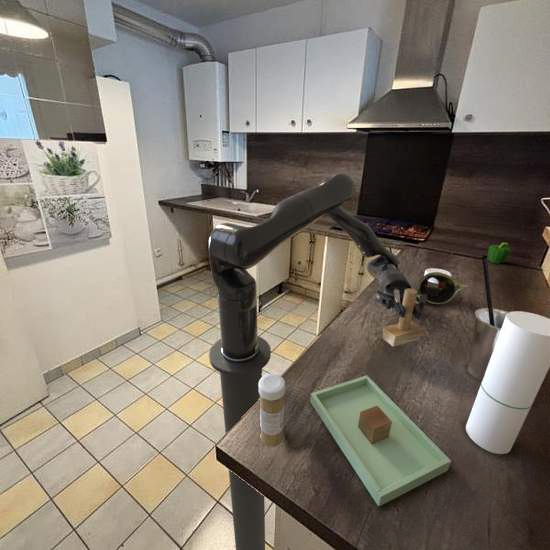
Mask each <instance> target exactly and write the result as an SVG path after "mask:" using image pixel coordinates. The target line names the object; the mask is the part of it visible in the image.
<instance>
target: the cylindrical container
mask: <svg viewBox="0 0 550 550" xmlns="http://www.w3.org/2000/svg"><path fill="white" fill-rule="evenodd" d="M508 312H509V313H507V314H506V317H505V320H504V323H503V325H502V328H501V331H500V334H499V336H498V339H497V342H496V345H495V347H494V350H493V353H492V356H491V358H490V361H489V364H488V367H487V369H486V372H485V375H484V378H483V380H482V381H481V383H480V386H479V388H478V392H477V394H476V397H475V400H474V402H473V406H472V408H471V412H470V414H469V416H468V419H467V422H466V425H465V431H466V433H467V435H468V436H469V438H470V439H471V440H472V441H473V443H475V444H476V445H477V446H478V447H480V448H481V449H483V450H485V451H488V452H489V453H492V454H496V455H506V454H508V453H510V452H511V450H512V448H513V446H514V444H515V442H516V440H517V438H518V436H519V433H520V431H521V429H522V427H523V426H524V423H525V420H526V419H527V416H528V415H529V412H530V410H531V408H532V405H533V403H534V401H535V399H536V397H537V395H538V393H539V391H540V388H541V386H542V384H543V382H544V380H545V378H546V375H547V374H548V372H549V370H550V318H549V317H546V316H543V315H540V314H536V313H532V312H527V311H521V310H520V311H519V310H517V311H515V310H514V311H508Z"/></svg>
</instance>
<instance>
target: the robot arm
mask: <svg viewBox="0 0 550 550" xmlns="http://www.w3.org/2000/svg"><path fill="white" fill-rule="evenodd" d="M355 191H356V185H355V181H354V180H353V178H352V177H351V176H350V175H348V174H347V173H344V172H338V173H337V172H336V173H335V174H332V175H331V176H329V177H327V178H326V179H323V180H322V181H320V182H319V183H317V184H316V185H315V186H314V187H310V188H308V189H305V190H303V191H300V192H298V193H296V194H293V195H291V196H289V197H287V198H285V199H283V200H281V201H279V202H278V203H277V204H276V205H275V206H274V208H273V209H272V212H271V215H270V218H269V219H267V220H265V221H264V222H262V223H259V224H257V225H254V226H244V225H240V224H235V223H231V222H223V223H220V224H218V225H216V226H215V227H214V229H213V230H212V231H211V233H210V236H209V239H208V255H209V256H208V257H209V263H210V270H211V272H210V273H211V276H212V277H211V278H212V283H213V284H214V286H215V288H216V295H217V304H218V305H217V306H218V318H219V329H220V339H221V343H222V355H223V357H224V358H225V359H226V360H228V361H230V362H234V363H242V362H247V361H249V360H251V359H253V358H254V357H255V356H256V355H257V354H258V347H259V341H258V336H259V335H258V334H259V333H258V298H257V295H258V293H257V291H258V290H257V281H256V279H255V278H254V277H253V275H251V274H250V273H249V272H248V270H250V269H251V268H253V267H255V266H256V265H258V264H259V263H260V262H261V261H263V260H264V259H265V258H266V257H268V256H269V255H270V254H271V253H272V252H274V250H276V249H277V248H278V247H279V246H281V245H282V244H284V243H285V242H287V241H288V240H290V239H291V238H293V237H294V236H295V235H298V234H299V233H301V232H303V231H304V230H305V229H308V228H309V227H310V226H312V225H313V224H314V223H315V222H317V221H318V220H320V219H321V218H322V217H323V216H325V215H326V214H327V215H328V216H329V218H331V220H332V221H334V223H335V224H336V225H338V227H340V228H341V230H343V232H344V233H345V234H346V235H347V236H348V237H349V238H350V239H351V240H352V242H353V243H354V245H355V247H356V248H357V249H358V251H359V252H360V253H361V255H362V256H363V257H365V258H367V259H368V258H369V259H370V258H373V257H375V258H373V259H371V260H370V261H369V262H368V263H367V264H366V270H367V272H368V274H369V275H370V276H371V277H372V278H373V279H374V280H377V281H378V284H379V288H380V290H376V292H375V297H374V300H375V301H376V302H378V303H379V304H380V305H381V306H383V307H384V308H386V309H387V310H391V309H393V310H394V311H395V312H396V314H397V316H399V318H400V317H403V318H404V317H405V312H406V310H405V308H404V306H403V305H402V303H403V298H404V293H405V289H413V288H412V286H411V283H410V282H409V281H408V279H407V278H406V277H405V275H404V274H403V273H402V272H401V271H400V269H399V267H400V259H399V258H398V257H397V255H396V254H394V252H392V251H391V250H389V249H388V248H387V247H386V246H385V245H383V243H382V242H381V241H380V239H379V238H378V236H377V235H376V233H375V232H374V231H373V229H372V228H371V227H370V226H369V225H368V224H366V223H365V222H363V221H362V220H359V219H358V218H356V217H354V216H353V215H351V214H350V213H348V212H347V211H346V210H345V209H344V208H343V207H342V205H345V204H347V203H349V202H350V201H351V200H352V199H353V198H354V195H355ZM426 299H427V294H422V295H417V297H416V302H415V306H414V311H413V315H412V316H413V317H414V318H415V319H417V320H419V319H420V318H421V317H422V313H423V311H424V309H425V306H426V303H427V301H426Z"/></svg>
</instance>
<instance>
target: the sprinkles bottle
mask: <svg viewBox="0 0 550 550" xmlns="http://www.w3.org/2000/svg"><path fill="white" fill-rule="evenodd" d="M285 393H286V381H285V379H284V377H282V376H281V375H279V374H277V373H266V374H264V375H262V378H261V379H260V380H259V394H260V427H261V433H260V439H261V441H262V443H263V446H266V447H268V448H276V447H278V446H280V445H281V444H282V443H283V441H284V439H285V434H284V427H285Z"/></svg>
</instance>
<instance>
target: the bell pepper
mask: <svg viewBox="0 0 550 550" xmlns="http://www.w3.org/2000/svg"><path fill="white" fill-rule="evenodd" d="M508 245H509V243H508V242H501V244H500V245H498V244H494V245H492V244H491V245H490V246H488V249H487V258H488V262H490V263H492V264H497V265H498V264H499V265H500V264H504V263H505V262H506V260H508V257H509V256H510V254H511V248H510V247H508Z"/></svg>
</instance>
